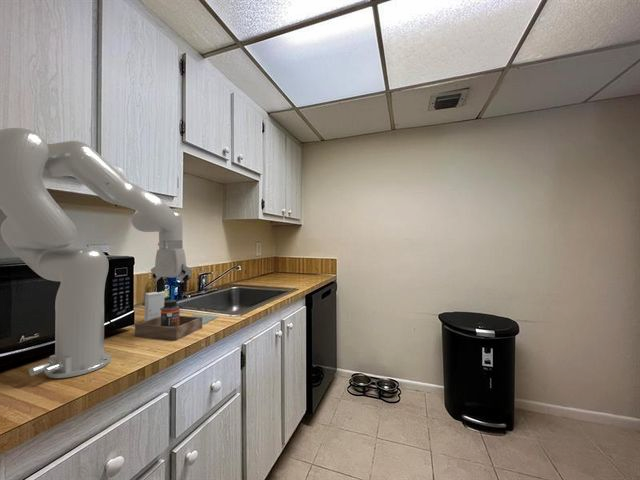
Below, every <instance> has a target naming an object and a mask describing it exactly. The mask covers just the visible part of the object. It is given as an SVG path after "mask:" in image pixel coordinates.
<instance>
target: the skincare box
mask: <svg viewBox="0 0 640 480" xmlns="http://www.w3.org/2000/svg"><path fill="white" fill-rule="evenodd" d="M164 302H165V291H162V292H157V291H153V292H145V294H144V321H147V320H150V319H153V318H156V317H159V316H161V309H162V308H163V307H164Z"/></svg>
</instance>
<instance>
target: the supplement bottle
mask: <svg viewBox="0 0 640 480" xmlns="http://www.w3.org/2000/svg"><path fill="white" fill-rule="evenodd" d="M177 303H178V302H177V299H168V300H164V307H163V308H162V309H161V326H168V327H178V326H179V316H180V306H179V305H178V304H177Z"/></svg>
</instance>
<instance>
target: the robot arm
mask: <svg viewBox="0 0 640 480" xmlns="http://www.w3.org/2000/svg"><path fill="white" fill-rule="evenodd" d="M70 176H71V177H73V178H75V179H76V180H77V181H78V182H80V183H81V184H82V185H84V186H85V187H87V188H88V189H89V190H90V191H91V192H93V193H94V194H95V195H96V196H98V197H99V198H100V199H102V200H103V201H105V202H108V203H111V204H112V205H117V206H120V207H124V208H127V209H132V210H135V211H136V212H135V213H134V214H132V217H131V219H130V220H131V221H130V222H131V224H132V227H134V228H135V229H136V230H138V231H140V232H144V233H155V232H158V243H157V246H158V248H159V249H157V251H156V255H155V260H154V262H155V263H154V264H155V265H154V267H152V268H151V269H150V272H151V274H152V277H153V279H154V282H156V284H155V285H156V292H165V291H166V284H165V283H166V282H165V280H164V279H165V278H170V279H171V278H174V279H175V278H177V279H178V281H180V282H178V293H179V294H180V295H181V294H185V293H187V292H188V282H189V279H191V277H192V274H193V269H192V268H190V267H188V265H187V260H186V259H187V258H186V254H185V249H183V247H184V246H183V216H182V213H180V212H176V211H173V209H172V208H171V207H170V206H169V205H168V204H167V203H166V202H165V201H164V200H162V199H161V198H160V197H158V196H157V195H156V194H154V193H152V192H151V191H148V190H146V189H144V188H143V187H141V186H139V185H137V184H135V183H132V182H130V181H129V180H128V179H126V178H125V177H124V176H123V175H122V174H121V173H120V172H119V171H118V170H117V169H116V168H114V166H113V165H111V164H110V163H109V162H108V161H107V160H106V159H105V158H104V157H103V156H102V155H100V153H98V151H96V150H95V149H94V148H93V147H92V146H90V145H89V144H87V143H85V142H83V141H78V140H69V141H67V140H65V141H62V142H61V141H60V142H54V143H47V141H46V140H45V139H44V138H43V137H42V136H41V134H39V133H37V132H35V131H34V130H31V129H27V128H23V127H9V128H4V129H0V210H1V211H2V212H3V214H4V215H5V219H4V220H3V221H2V223H1V225H0V235H1V238H2V239H3V241H4V242H5V245H7V246H8V248H10V249H11V251H13V252H14V254H16V255H17V256H18V257H19V258H20V259H21V260H22V261H23V262H24V263H25V264H26V265H27V266H28V267H29V268H30V269H31V270H32V271H33V272H35V274H37V275H38V276H40V277H41V278H43V279H44V280H47V281H52V282H59V283H60V284H59V287H58V290H57V293H56V295H55V302H54V303H55V305H54V310H55V326H54V327H55V331H54V334H55V336H54V339H55V340H54V344H55V345H54V346H55V347H54V348H55V349H54V354H52V355H50V356H49V360H47V361H45V363H42V364H39V365H38V364H37V365H35V366H33V367H30V368H29V370H28V374H29V376H31V377H33V376H36V375H39V374H41V373H42V374H43V373H44V374H45V375H46V377H48V378H50V379H51V378H52V379H65V378H67V379H68V378H72V377H78V376H82V375H86V374H88V373H92V372H94V371H97V370H99V369H101V368H103V367H105V366H106V365H108V364H109V363H110V362H111V360H112V355H111V354H110V353H107V352H105V288H106V282H107V277H108V273H109V259H108V257H107V255H106V254H105V253H104V252H103V251H102V250H100V249H99V248H98V249H97V248H95V247H93V246H92V247H91V246H85V245H84V246H83V245H82V246H79V245H78V246H77V245H76V246H74V245H73V246H71V245H72V244H74V242H75V241H76V240H77V238H78V230H77V227H76V225H75V224H74V222H73V221H72V220H71V219H70V217H69V216H68V215H67V214H66V212H64V210H63V209H62V208H61V207H60V205H59V204H58V203H57V202H56V201H55V199H54V198H53V196H52V195H51V194H50V192H49V191H48V189H47V187H46V186H45V183H44V181H43V180H44V179H43V177H70Z"/></svg>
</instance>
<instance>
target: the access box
mask: <svg viewBox="0 0 640 480" xmlns="http://www.w3.org/2000/svg"><path fill="white" fill-rule="evenodd" d="M190 316H191V315H190ZM190 316H189V315H188V316H187V315H179V326H178V327H168V326H161V316H159V317H156V318H153V319H150V320H147V321H145V320H144V321H142V322H138V323H136V324H134V336H135V337H141V338H149V339H150V338H151V339H158V340H159V339H160V340H168V341H169V340H170V341H178V340H180V339H183V338H184V337H186V336H188V335H190V334H192V333H195V332H197V331H199V330H201V329H203V325H202V317H190Z"/></svg>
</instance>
